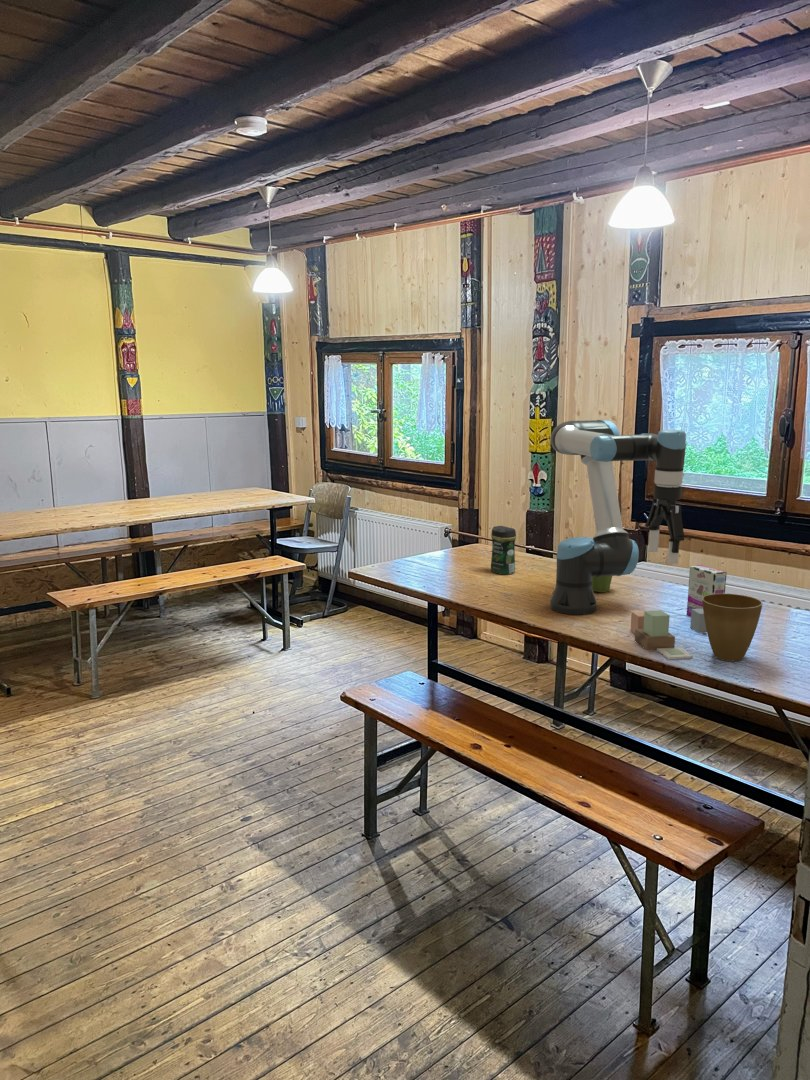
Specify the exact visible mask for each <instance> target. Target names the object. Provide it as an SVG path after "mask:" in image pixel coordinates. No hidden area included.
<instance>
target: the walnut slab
mask: <svg viewBox="0 0 810 1080" xmlns="http://www.w3.org/2000/svg"><path fill="white" fill-rule="evenodd" d="M635 641H636V642H637V643H638V644H637V645H639V646H640V645H641V646H642V647H641V646H640V647H641V648H643V647H644V648H645V649H646V650H645V649H644V648H643V649H644V650H645V651H647V650H652V651H657V648H675V644H676V643H675V642H676V636H675V635H674V634H672V633H670V632H668V636H658V637H651V636H649V635H648V634H647V633H645V632H644V631H643V629H635V634H634V642H635ZM636 642H635V643H636Z"/></svg>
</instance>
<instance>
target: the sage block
mask: <svg viewBox="0 0 810 1080" xmlns="http://www.w3.org/2000/svg"><path fill="white" fill-rule="evenodd" d="M644 611H645V612H644V628H643V631H644V632H645V633H647V634H648V635H649V636H651V637H658V636H668V632H669V631H670V615H669V614H668V613H667V612H665V611H663V610H662V609H661V610H660V609H659V610H658V609H657V610H644ZM669 633H670V632H669Z"/></svg>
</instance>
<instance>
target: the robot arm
mask: <svg viewBox="0 0 810 1080" xmlns="http://www.w3.org/2000/svg"><path fill="white" fill-rule="evenodd" d="M686 439H687V434H686V432H685V431H684V430H680V429H679V430H678V429H662V430H659V431H658V434H655V433H651V432H650V433H649V432H647V433H644V432H643V433H640V434H620V431H619V428H618V426H617V425H616V424H615V423H613V421H610V420H602V419H597V420H594V419H593V420H567V421H563V422H562V423H559V424H558V425H556V427H554V428H553V429H552V432H551V434H550V444H551V447H552V448H553V450H555V452H557V453H559V454H562V455H567V456H580V461H581V463H582V464H584V465H585V466H586V470H587V476H588V478H587V479H588V484H589V489H590V490H589V491H590V496H591V497H590V498H591V499H590V500H591V504H592V511H593V512H592V513H593V518H594V525H595V532H596V533H595V535H593V537H592V538H591V537H589V536H582V537H581V536H576V537H568V538H566V539H563V540H561V541H560V542H559V543H558V545H557V551H556V577H555V579H556V580H555V587H554V588H553V592H552V596H551V597H550V600H549V608H550V609H551V611H554V612H557V613H560V614H566V615H574V616H575V615H577V616H578V615H579V616H581V615H588V614H593V613H595V612H596V611H597V607H598V605H597V604H598V603H597V600H596V596H595V593H594V592H595V591H593V589H592V577H602V576H612V577H621V576H625V575H626V576H627V575H630V574H632V573H633V572H634V571H635V569H636V568H637V565H638V562H639V555H640V552H639V551H640V550H639V547H638V544H637V542H636V541H635V540H633V539H631V538H630V536H629V532H627V531H626V530H625V529H624V528H623V522H622V515H621V510H620V502H619V497H618V490H617V484H616V478H615V470H614V465H613V462H620V461H621V462H623V461H625V462H626V461H627V462H628V461H654V462H655V470H654V480H653V483H654V484H655V485H654V487H653V497H652V502H651V503H652V504H651V508H650V511H649V513H648V514H649V515H648V516H647V521H646V525H645V526H646V527H648V530H649V532H648V533H649V535H648V545H647V546H648V548H647V551H648V553H658V552H659V543H660V542H659V540H660V530H661V527H660V526H661V525H662V522H663V520H664V521H666V525H667V529H668V532H669V536H670V537H669V539H668V553H667V564H668V565H675V564H676V565H677V564H679V555H680V554H679V552H680V542H683V541H685V532H684V525H683V518H682V505H677V504H676V503H677V501H679V500H681V499H682V495H683V494H682V493H683V487H682V486H681V485H682V484H683V478H684V476H685V473H684V467H685V459H686V458H685V457H686V448H687V442H686V441H687V440H686Z"/></svg>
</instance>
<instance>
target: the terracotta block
mask: <svg viewBox="0 0 810 1080" xmlns="http://www.w3.org/2000/svg"><path fill="white" fill-rule="evenodd" d="M645 611H646V610H639V611H637V610H635V611H631V614H630V630H631V632H632V633H633V634H634V633H635V629H643V628H644V612H645Z"/></svg>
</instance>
